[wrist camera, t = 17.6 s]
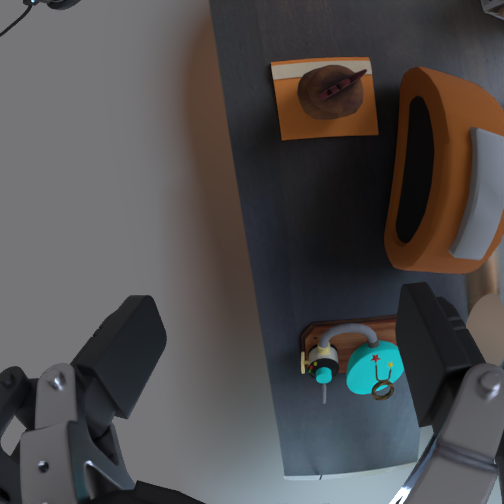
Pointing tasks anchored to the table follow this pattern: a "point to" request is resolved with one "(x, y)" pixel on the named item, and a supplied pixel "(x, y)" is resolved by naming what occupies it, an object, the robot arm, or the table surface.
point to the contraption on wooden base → (353, 353)
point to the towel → (305, 126)
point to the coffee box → (493, 7)
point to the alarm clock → (445, 175)
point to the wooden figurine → (331, 92)
